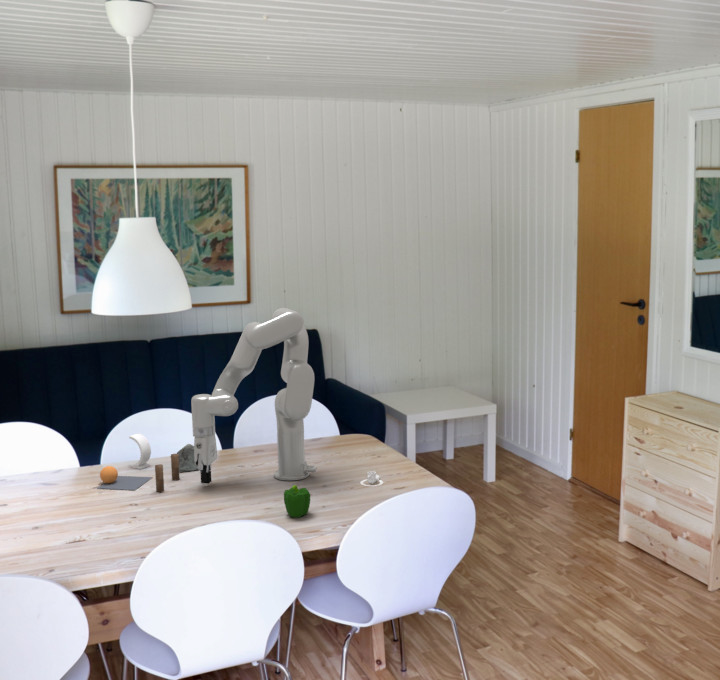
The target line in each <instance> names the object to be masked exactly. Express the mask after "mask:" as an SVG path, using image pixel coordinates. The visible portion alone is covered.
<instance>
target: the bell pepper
mask: <svg viewBox="0 0 720 680" xmlns="http://www.w3.org/2000/svg"><path fill="white" fill-rule="evenodd" d="M283 502H284V507H285V509H286V513H287V514H288V515H289V516H290V517H291V518H301V517H303V516H305V515H307V514H308V513H309V508H310V505H311V493H310V491H309V490H308V489H307V488H306V487H302V488H298V485H296V484H294V485H292V486H291V487H290V488H289V489H284V492H283Z"/></svg>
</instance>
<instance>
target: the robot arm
mask: <svg viewBox="0 0 720 680" xmlns="http://www.w3.org/2000/svg"><path fill="white" fill-rule="evenodd" d="M282 342H283V354H282V363H281V369H280V376H281V379H282V380H283V382H285V383H286V387H284V388H282V389H280V390H278V392H277V394H276V396H275V399H274V412H275V418H276V420H275V421H276V437H277V438H276V440H277V441H276V442H277V467H278V469H277V470H275V471H274V472H273V477H274V478H275V479H277V480H279V481H280V480H281V481H298V480H303V479H306V478H308V477H309V476H310V473H317V466H315V465H309V464H308V461H307V460H305V457H306V456H305V452H306V451H305V424H304V423H305V422H304V419H305V418H307V416H308V415H309V413H310V411H311V408H312V401H313V395H314V388H315V372H314V369H313V368H312V366H311V365H310V364H309V363H308V355H309V335H308V331H307V329H306V326H305V325H304V319H303V316H302V315H301V314H300V313H299V312H298V311H296V310H293V309H290V308H287V307H280V308H278V309H276V310H275V311H274V312H273V314H272V318H271V319H270V320H267V321H265V322H258V321H252V322H249V323H248V324H247V325H245V327H244V329H243V331H242V333H241V336H240V337H239V340H238V342H237V344H236V346H235V349H234V351H233V354H232V355H231V357H230V360H229V361H228V363H227V364H226V366H225V368H224V369H223V370H222V373H220V375H219V378H218V379H217V381H216V383H215V386H214V388H213V391H212V392H211V394H208V393H201V394H199V393H198V394H195V395H192V397H191V403H190V404H191V405H190V406H191V423H192V427H191V428H192V437H194V439H193V440H194V442H193V446H194V461H195V465H198V469H197V470H198V471H199V472H200V483H201V484H208V485H209V484H211V483H212V464H213V463H214V462H215V461H216V460H217V459H218V447H217V439H216V421H215V420H216V419H215V416H217V417H229V416H232V415H234V414H235V413H236V412H237V410H238V409H239V402H238V399H237V398H236V397H235V393H236V391H237V390H238V389H237V388H238V387H239V385H240V383H241V382H242V380H243V379H245V377H247V376H248V375H250V374H251V373H252V372H253V370H254V369H255V366H256V365H257V362H258V359H259V357H260V355H261V354H262V350H264V349H268V348H271V347H273V346H274V347H275V346H276V345H278V344H280V343H282Z"/></svg>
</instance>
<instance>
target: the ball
mask: <svg viewBox="0 0 720 680" xmlns="http://www.w3.org/2000/svg"><path fill="white" fill-rule="evenodd" d="M118 476H119V473H118V469H116V467H114V466H112V465H108V466H104V467H103V468H102V469H101V471H100V473H99V478H100V480H101V481H102V482H103V483H113V482H114V481H115V480H116V479H117V477H118Z"/></svg>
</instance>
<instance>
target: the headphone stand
mask: <svg viewBox="0 0 720 680" xmlns="http://www.w3.org/2000/svg"><path fill="white" fill-rule="evenodd" d="M128 439H130V440H132V441H134V442H135V443H136V444H137V446H138V449H139V451H140V457H139V460H138V462H137V463H133V464H131V465H130V468H133V469H138V470H143V469H146V468H147V467H150V463H148V462H149V460H150V458H151V454H152V447H151V445H150V442H149V440H148V439H147V438H146V436H144V435H143V434H141V433H135V434H131V435H129V436H128Z"/></svg>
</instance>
